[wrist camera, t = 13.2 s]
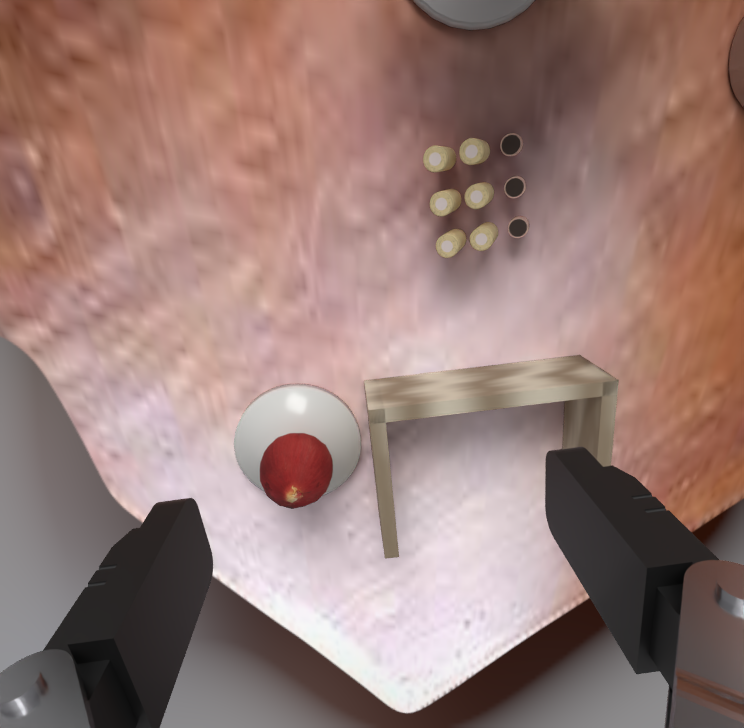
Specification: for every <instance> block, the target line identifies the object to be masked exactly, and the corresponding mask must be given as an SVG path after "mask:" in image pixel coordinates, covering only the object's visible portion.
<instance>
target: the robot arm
mask: <svg viewBox="0 0 744 728" xmlns="http://www.w3.org/2000/svg"><path fill="white" fill-rule="evenodd" d="M729 74H730V81H731V86H732V88H733V91H734V94H735V96H736V98H737V99H738V101H739V102H740V104H741V105H742V106H743V107H744V17H743V19H742V20H741V22H740V24H739V26H738V29H737V31H736V34H735V36H734V39H733V43H732V47H731V52H730V60H729ZM545 509H546V517H547V521H548V525H549V528H550V531H551V533H552V535H553V537H554V539H555V541H556V542H557V544H558V546H559V547H560V549H561V550H562V552H563V554H564V555H565V557H566V559H567V560H568V562H569V564H570V565H571V567H572V569H573V570H574V572H575V574H576V575H577V577H578V579H579V580H580V582H581V584H582V585H583V587H584V589H585V590H586V592H587V593H588V595H589V597H590V598H591V600H592V602H593V603H594V605H595V607H596V608H597V610H598V612H599V613H600V615H601V617H602V618H603V620H604V622H605V623H606V625H607V626H608V628H609V630H610V632H611V633H612V635H613V636H614V638H615V640H616V641H617V643H618V645H619V646H620V648H621V650H622V651H623V653H624V655H625V656H626V658H627V660H628V661H629V663H630V664H631V666H632V668H633V670H634V671H635V673H636V674H641V673H649V672H656V671H660V672H661V674H662V675H663V677H664V678H665V680H666V681H667V683H668V684H669V690H668V697H667V707H666V718H665V728H744V565H741V564H738V563H733V562H729V561H721V560H719V559H718V558H717V557H716V556H715V555H714V554H713V553H712V552H711V551H710V550H709V549H708V548H707V547H706V546H705V545H703V544H702V542H701V541H699V540H698V539H697V538H696V537H695V536H694V535H693V534H692V533H691V532H690V531H689V530H688V529H687V528H686V527H685V526H684V525H683V524H682V523H681V522H680V521H679V520H678V519H677V518H676V517H675V516H674V515H673V514H672V513H671V512H670V511H669V510H668V511H666V509H665V506H664V505H663V504H662V503H661V502H660V501H659V500H658V499H657V498H656V497H652V494H651V493H650V492H649V491H648V490H647V489H646V488H645V487H644V486H643V485H642V484H641V483H640V482H639V481H638V480H637V479H636V478H635V477H633V476H631V475H629V474H627V473H625V472H624V471H622V470H620V469H618V468H616V467H614V466H605V467H603V466H602V465H601V464H600V463H599V462H598V461H597V460H596V459H595V457H594V456H593V455H592V454H591V453H590V452H589V451H588V450H587V449H586V448H584V447H575V448H567V449H560V450H552V451H549V452H548V453H547V455H546V491H545ZM212 573H213V558H212V552H211V548H210V545H209V542H208V538H207V535H206V532H205V528H204V525H203V522H202V518H201V515H200V512H199V509H198V506H197V503H196V501H195V500H194V499H192V498H187V499H180V500H172V501H165V502H158V503H156V504H155V505H154V506H153V508H152V509H151V511H150V513H149V514H148V516H147V517H146V519H145V521H144V522H143V524H142V525H141V527H140V528H136V529H132V530H131V531H130V532H129V533H128V534H126V535H125V536H124V537H123V538H122V539H121V540H120V541H118V542H117V543H116V544H115V545H114V546H113V547H112V548H111V550H110V551H109V553H108V554H107V556H106V557H105V559H104V560H103V562H102V563H101V565H100V566H99V570H97V571H96V572H95V574H94V575H93V577H92V578H91V580H90V581H89V583H88V587H86V588H85V589H84V590H83V592H82V593H81V595H80V596H79V597H78V599H77V601H76V602H75V603H74V605H73V606H72V608H71V609H70V611H69V612H68V614H67V616H66V617H65V618H64V620H63V621H62V623H61V625H60V626H59V627H58V629H57V631H56V632H55V634H54V635H53V636H52V638H51V639H50V641H49V642H48V644H47V646H46V647H45V648H44V650H43V651H40V652H37V653H34V654H32V655H29V656H27V657H25V658H23V659H21V660H19V661H17V662H16V663H14V664H13V665H11V666H9V667H8V668H7V669H5V670H4V671H2V672H1V673H0V728H160V725H161V722H162V719H163V716H164V713H165V710H166V708H167V705H168V702H169V699H170V696H171V693H172V691H173V688H174V685H175V682H176V679H177V676H178V673H179V671H180V668H181V665H182V662H183V659H184V657H185V654H186V651H187V648H188V645H189V642H190V640H191V637H192V634H193V631H194V628H195V625H196V622H197V620H198V617H199V614H200V611H201V608H202V606H203V602H204V600H205V597H206V594H207V591H208V589H209V586H210V583H211V579H212Z"/></svg>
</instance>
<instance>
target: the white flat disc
mask: <svg viewBox="0 0 744 728" xmlns="http://www.w3.org/2000/svg"><path fill="white" fill-rule="evenodd" d="M289 433H305V434H309V435H312V436H315V437H316V438H317V439H319V440H320V441H321V442H322V443H324V444H325V445H326V446H327V448H328V450H329V452H330V454H331V457H332V460H333V474H332V478H331V481H330V484H329V486H328V489H327V491H326V492H325V493H324V494H323V495H325V494H328V493H330V492H332V491H333V490H335V489H337V488H338V487H339V486H341V485H342V484H343V483H344V482H345V481H346V480H347V479H348V478H349V477H350V475H351V474H352V472H353V471H354V469H355V467H356V465H357V463H358V460H359V456H360V450H361V439H360V431H359V426H358V423H357V420H356V418H355V416H354V414H353V412H352V411H351V409H350V408H349V407H348V406H347V404H346V403H345V402H344V401H343V400H341V399H340V398H339V397H338V396H336V395H335V394H333V393H332V392H330V391H328V390H326V389H323V388H321V387H317V386H314V385H309V384H287V385H282V386H278V387H275V388H272V389H270V390H268V391H266V392H264V393H263V394H261V395H259V396H258V397H257V398H256V399H254V400H253V401H252V402H251V403H250V405H249V406H248V407H247V408H246V410H245V411H244V413H243V415H242V417H241V419H240V421H239V423H238V426H237V429H236V432H235V438H234V449H235V455H236V459H237V462H238V464H239V466H240V468H241V470H242V471H243V473H244V474H245V476H246V477H247V478H248V479H249V480H250V481H251V482H252V483H253V484H254V485H255V486H257V487H258V488H260V489H261V490H263V491H264V489H263V487H262V485H261V482H260V462H261V459H262V457H263V454H264V451H265V450H266V449H267V447H268V446H269V445H270V444H271V443H272V442H273V441H274V440H275V439H276V438H278V437H280V436H283V435H286V434H289ZM323 495H322V496H323Z"/></svg>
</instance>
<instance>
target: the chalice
mask: <svg viewBox="0 0 744 728" xmlns="http://www.w3.org/2000/svg"><path fill="white" fill-rule="evenodd" d="M413 1H414V2H415V4H416V5H417V6H419V7H420V8H421V9H422V10H423V11H425V12H426V13H427V14H428V15H429V16H431V17H432V18H433V19H435V20H437V21H440V22H442V23H444V24H446V25H448V26H450V27H455V28H460V29H466V30H478V29H489V28H492V27H495V26H498V25H500V24H503V23H506V22H509V21H510V20H512V19H513V18H515V17H516V16H518V15H519V14H521V13H522V12H524V11H525V10H526V9H527V8H528V7H529V6H530V5H531V4H532V3H533V2H534V1H535V0H413Z"/></svg>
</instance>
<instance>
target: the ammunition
mask: <svg viewBox="0 0 744 728" xmlns="http://www.w3.org/2000/svg"><path fill="white" fill-rule="evenodd" d="M522 147H523V140H522V138H521V137H520V136H519V135H518V134H515V133H509V134H507V135H505V136H504V137H503V139H502V140H501V143H500V149H501V152H502V153H503V154H504V155H506V156H515V155H517V154H518V153H519V152H520V151H521V150H522ZM489 154H490V148H489V145H488V144H487V142H485V141H484V140H480V139H476V138H469V139H467V140H465V141H464V142H463V143H462V145H461V147H460V150H459V155H460V158H461V160H462V161H463V162H464V163H465V164H467V165H475V164H480V163H483V162H485V161H486V160H487V158H488V157H489ZM423 162H424V165H425V167H426V169H427V170H429V171H430V172H441V171H447V170H449V169H451V168H452V167H453V166H454V164H455V162H456V154H455V152H454V150H453V149H452V148H450V147H444V146H432V147H430V148H428V149H427V150H426V152H425V154H424V157H423ZM525 189H526V182H525V180H524V179H523V178H522V177H520V176H514V177H511V178H510V179H508V180H507V181H506V183H505V185H504V192H505V194H506V195H507V196H508V197H510V198H518V197H520V196H521V195H522V194H523V193H524V192H525ZM493 196H494V189H493V187H492V186H491V185H490V184H489V183H487V182H481V183H478V184H474V185H472V186H470V187H469V188H468V189H467V191H466V193H465V202H466V204H467V205H468V206H469V207H470V208H472V209H480V208H482V207H484V206H485V205H486V204H488V203H489V202H490V201H491V200H492V199H493ZM460 204H461V195H460V193H459V192H458V191H456V190H454V189H448V190H444V191H440V192H437V193H435V194H434V195H433V196H432V198H431V200H430V209H431V211H432V212H433V213H434V214H435V215H437V216H446V215H448V214H449V213H451V212H453V211H455V210H456V209H458V208H459V206H460ZM528 229H529V221H528V220H527V219H526V218H525V217H523V216H517V217H515V218H513V219H512V220H511V221H510V223H509V225H508V232H509V234H510V235H511V236H512V237H514V238H521V237H523V236H525V235H526V233H527V232H528ZM497 236H498V229H497V227H496V226H495V225H494V224H493V223H490V222H486V223H483V224H481V225H480V226H479V227H477V228H476V229H475V230H474V231H473V232H472V233H471V235H470V244H471V246H472V247H473V248H474V249H475V250H478V251H484V250H487V249H488V248H489V247H490V246H491V245H492V244H493V242H494V241H495V240H496V238H497ZM465 243H466V235H465V233H464V232H463V231H462V230H460V229H452V230H450V231H449V232H447V233H446V234H444V235H442V236H441V237H440V238H439V239H438V240H437V242H436V250H437V252H438V254H439V255H440V256H442V257H444V258H450V257H453V256H454V255H455V254H456V253H457V252H458V251H459V250H461V249H462V248H463V246H464V245H465Z"/></svg>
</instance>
